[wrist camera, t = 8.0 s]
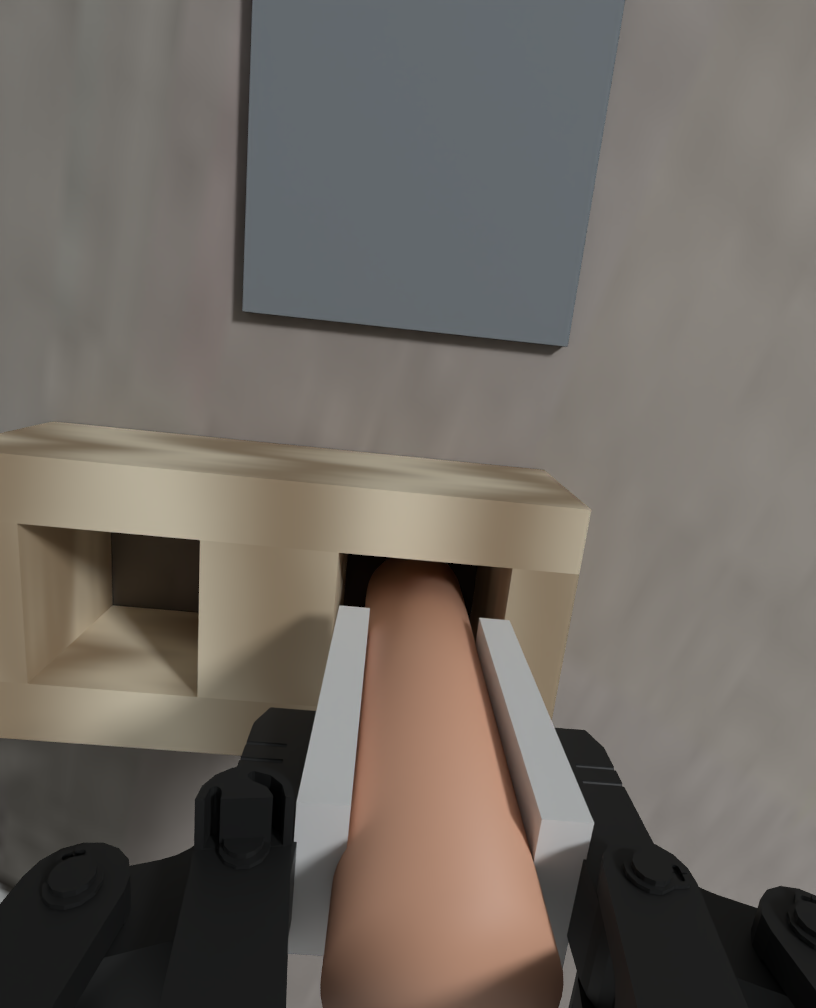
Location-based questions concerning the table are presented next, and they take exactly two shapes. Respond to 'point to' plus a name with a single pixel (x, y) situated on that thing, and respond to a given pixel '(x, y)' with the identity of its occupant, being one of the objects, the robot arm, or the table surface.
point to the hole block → (243, 574)
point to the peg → (433, 824)
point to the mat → (425, 161)
